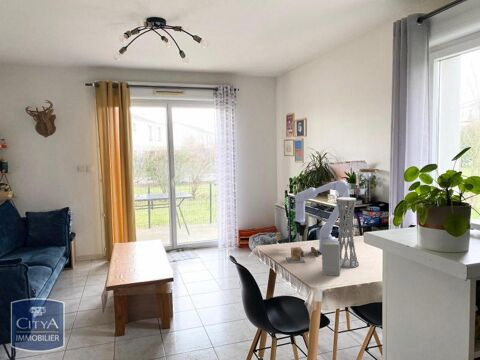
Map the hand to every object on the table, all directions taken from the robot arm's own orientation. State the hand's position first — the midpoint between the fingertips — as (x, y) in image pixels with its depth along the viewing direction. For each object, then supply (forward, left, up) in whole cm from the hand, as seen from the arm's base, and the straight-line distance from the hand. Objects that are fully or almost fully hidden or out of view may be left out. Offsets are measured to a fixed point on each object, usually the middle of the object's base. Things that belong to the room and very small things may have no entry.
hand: (300, 234), depth 215 cm
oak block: (+7, +21, -9) cm, 24 cm away
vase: (-18, +30, -10) cm, 36 cm away
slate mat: (+7, +21, -9) cm, 24 cm away
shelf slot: (-2, +11, -9) cm, 15 cm away
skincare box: (-6, +44, -10) cm, 45 cm away
